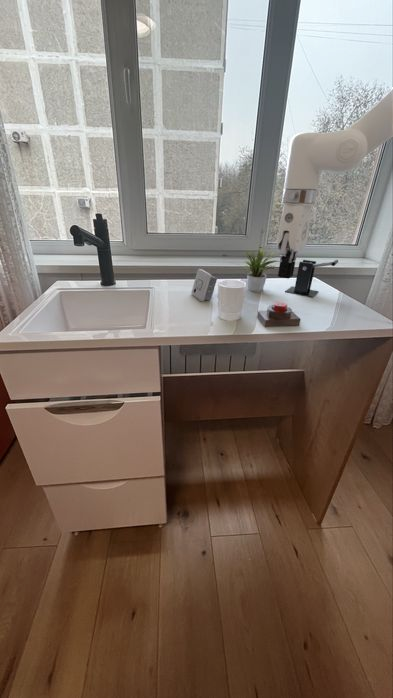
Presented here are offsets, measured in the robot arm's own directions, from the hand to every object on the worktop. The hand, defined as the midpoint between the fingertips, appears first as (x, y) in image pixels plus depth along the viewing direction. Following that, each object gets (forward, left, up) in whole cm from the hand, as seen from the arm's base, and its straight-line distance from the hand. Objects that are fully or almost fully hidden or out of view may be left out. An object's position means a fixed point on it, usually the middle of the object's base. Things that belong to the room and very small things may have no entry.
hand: (285, 276), depth 76 cm
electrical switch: (+29, -5, -13) cm, 32 cm away
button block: (0, 0, -13) cm, 13 cm away
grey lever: (-2, -30, -3) cm, 30 cm away
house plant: (+17, -21, -13) cm, 30 cm away
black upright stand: (+2, -30, -13) cm, 33 cm away
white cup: (+13, +5, -13) cm, 19 cm away
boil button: (0, 0, -10) cm, 10 cm away
